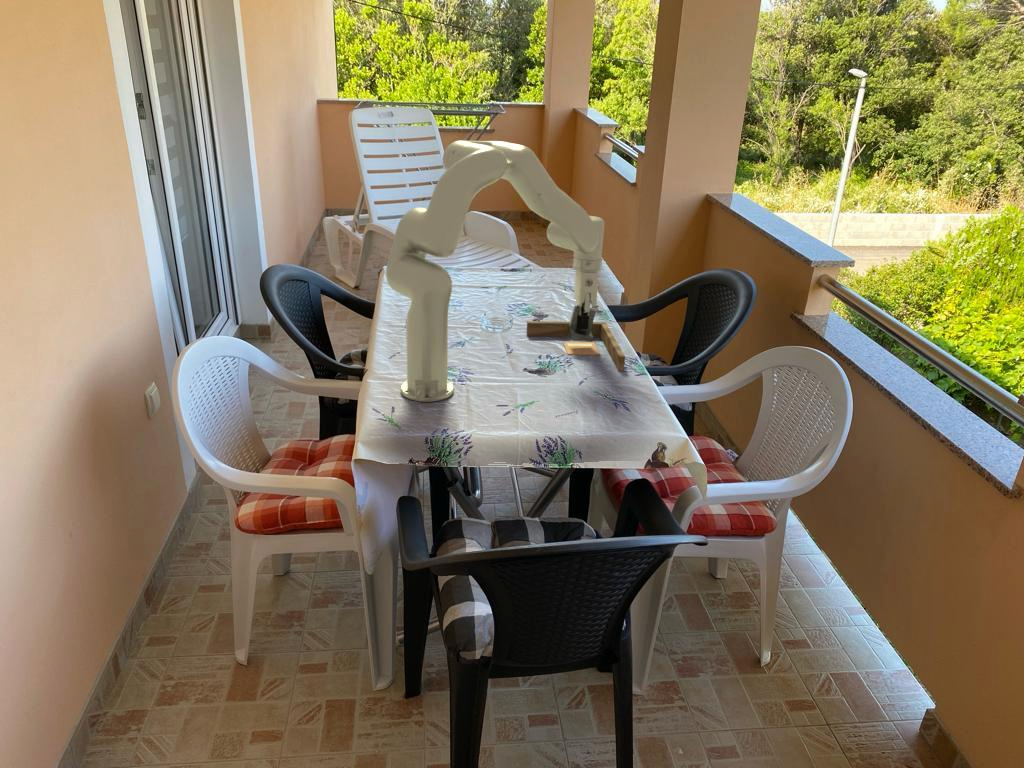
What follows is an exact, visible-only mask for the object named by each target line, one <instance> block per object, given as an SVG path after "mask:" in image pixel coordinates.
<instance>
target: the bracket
mask: <svg viewBox="0 0 1024 768" xmlns="http://www.w3.org/2000/svg"><path fill="white" fill-rule="evenodd" d="M596 312H597V310H596V308H590V311H589V324H588V329H577V315H579V306H577V305H574V306H573V308H572V312H571V316H570V321H569V322H570V324H569V327H568V332H569V335H570V339H573V340H579V341H582V342H593V340H594V337H593V335H592V333H591V328H592V324H593V322H594V320H595V317H596Z"/></svg>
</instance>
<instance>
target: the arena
mask: <svg viewBox="0 0 1024 768" xmlns="http://www.w3.org/2000/svg"><path fill="white" fill-rule="evenodd" d="M569 324H570V321H543V320H542V321H538V320H537V321H536V320H527V321H526V337H570V335H569V332H568V327H569ZM591 333H592V335H593V338H600V339H601V341H602V343H603V345H604V347H605V348H606V351H607V353H608V354H609V356H610V358H611V360H612V363H613V364H614V366H615V368H616V369H617V371H618V372H621V371H623V372H624V370H625V364H626V363H625V362H626V356H625V353H624V352H623V350H622V348H621V346H620V345H619V343H618V342H617V339H616V338H615V337H614V334H613V333H612V331H611V329H610V328H609V325H608V324H607V322H605V321H593V324H592V328H591ZM570 338H571V337H570Z"/></svg>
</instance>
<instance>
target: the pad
mask: <svg viewBox="0 0 1024 768" xmlns="http://www.w3.org/2000/svg"><path fill="white" fill-rule="evenodd" d="M562 344H563V347H564V349H565V351H566V354H567V355H568V356H571V355H573V356H600V355H601V353H600V351H599V348H598V347H597V345H596V343H595V341H592V342H589V341H562Z"/></svg>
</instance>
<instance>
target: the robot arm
mask: <svg viewBox="0 0 1024 768" xmlns="http://www.w3.org/2000/svg"><path fill="white" fill-rule="evenodd" d="M442 165H443V168H444V169H445V172H444V173H442V175H441V176H440V177H439V179H438V180H437V182H436V184H435V187H434V189H433V192H432V195H431V198H430V201H429V204H428V207H427V208H425V207H414V208H411V209H409V210H407V212H405V213H404V215H403V216H402V217H401V218H400V220H399V222H398V224H397V228H396V229H395V230H396V231H395V234H394V237H393V242H392V244H391V249H390V252H389V257H388V260H387V264H386V270H385V277H386V281H387V284H388V286H389V288H391V289H392V290H393V291H395V292H396V293H398V294H400V295H401V296H404V297H406V298H408V299H410V303H411V304H410V305H409V309H408V312H407V314H406V321H405V328H406V329H405V330H406V377H407V378H406V380H405V381H404V382H403V383H402V384H401V385H400V393H401V394H402V396H404V397H405V398H407V399H409V400H412V401H415V402H421V403H423V402H425V403H430V402H431V403H432V402H438V401H439V402H440V401H442V400H446V399H448V398H449V397H451V396H452V395H453V394H454V391H455V389H454V388H455V387H454V384H453V383H452V382H451V381H450V380H448V353H449V352H448V350H449V349H448V347H449V346H448V345H449V344H448V339H449V338H448V334H449V332H448V331H449V330H448V328H449V327H448V324H449V323H448V322H449V308H450V302H451V299H452V298H451V297H452V291H453V280H452V277H451V275H450V272H449V271H447V270H446V268H444V267H443V266H441V265H440V264H438V263H435V262H433V261H431V260H428V259H427V258H426V257H427V254H428V255H430V256H433V257H435V258H449V257H452V255H453V254H454V253H455V252H456V250H457V247H458V245H459V242H460V240H461V236H462V231H463V228H464V225H465V221H466V219H467V215H468V212H469V208H470V205H471V203H472V201H473V200H474V198H475V196H476V195H477V194H479V192H480V191H481V190H482V189H484V188H486V187H489V186H490V185H493V184H494V183H496V182H497V181H499V180H500V179H501V180H502V179H503V180H506V181H508V182H509V183H510V185H511V186H512V187H513V188H514V190H515V191H516V193H517V194H518V195H519V196H520V198H521V199H522V200H523V202H524V203H525V204H526V206H527V207H528V209H529V210H530V211H532V212H533V213H535V214H537V215H538V216H539V217H541V218H543V219H545V220H547V221H549V222H550V223H549V224H548V226H547V228H546V237H547V239H548V241H549V242H550V244H552V245H554V246H556V247H558V248H559V247H560V248H561V249H565V250H568V251H572V252H573V259H572V269H573V270H575V276H574V287H573V288H574V291H573V295H574V300H575V302H576V303H577V304H576V306H579V315H577V329H588V324H589V311H590V309H591V306H592V307H593V308H596V307H597V304H598V285H599V284H598V281H599V280H598V277H599V276H598V273H599V271H601V267H602V257H603V256H602V255H603V247H604V245H603V244H604V234H605V233H604V232H605V221H604V219H603V218H602V217H599V216H595V215H589V214H588V213H587V211H586V210H585V209H584V208H583V207H582V206H581V205H579V203H577V202H576V201H575V200H574V199H573V198H572V197H571V196H569V195H568V194H567V193H566V192H565V191H563V190H562V189H560V187H558V185H557V184H556V183H555V182H554V180H553V178H552V177H551V176H550V174H549V173H548V172H547V170H546V168H545V167H544V165H543V164H542V162H541V161H540V159H539V158H538V156H537V155H536V153H535V152H534V151H533V150H532V149H531V148H530V147H528V146H526V145H523V144H518V143H514V142H509V141H500V140H463V139H462V140H456V141H453V142H452V143H450V144H449V145H448V146H447V147H446V148H445V150H444V152H443V154H442Z"/></svg>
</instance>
